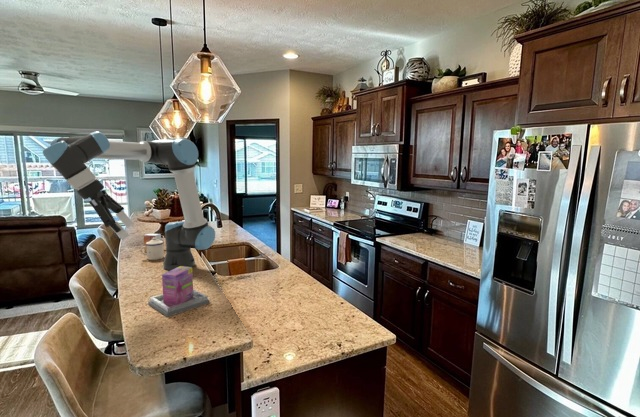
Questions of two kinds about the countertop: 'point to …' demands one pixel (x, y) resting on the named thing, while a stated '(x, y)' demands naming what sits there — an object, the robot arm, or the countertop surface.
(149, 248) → the teacup with lid
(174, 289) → the box
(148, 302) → the gray square tray
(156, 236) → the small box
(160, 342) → the countertop surface
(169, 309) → the steel rail frame
